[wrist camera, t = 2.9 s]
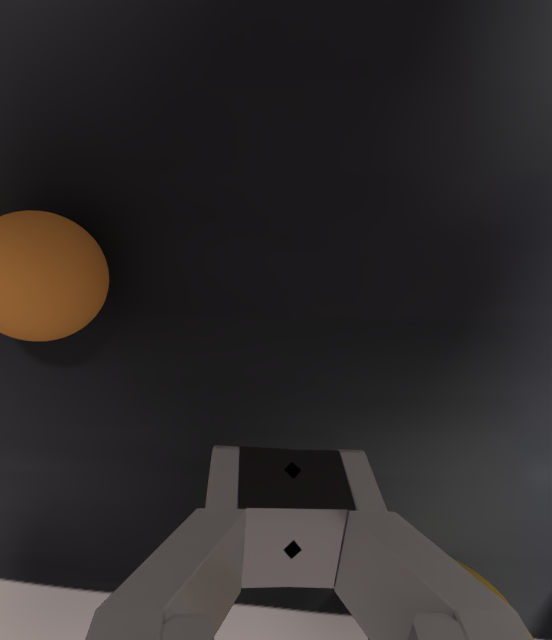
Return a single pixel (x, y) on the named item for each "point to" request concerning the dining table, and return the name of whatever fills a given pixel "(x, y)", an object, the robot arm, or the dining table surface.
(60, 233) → the ball
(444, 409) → the dining table surface
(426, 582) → the robot arm
